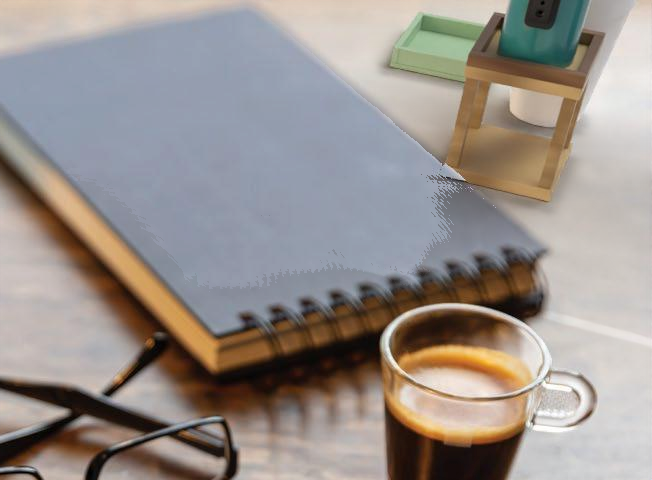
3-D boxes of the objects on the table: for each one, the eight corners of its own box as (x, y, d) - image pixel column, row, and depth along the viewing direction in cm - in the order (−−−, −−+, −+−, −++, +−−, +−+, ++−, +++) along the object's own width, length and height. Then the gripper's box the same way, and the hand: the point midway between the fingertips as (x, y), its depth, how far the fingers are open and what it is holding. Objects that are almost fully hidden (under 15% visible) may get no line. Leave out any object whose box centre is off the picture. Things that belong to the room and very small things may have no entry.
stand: (569, 153, 114) (606, 32, 106) (549, 202, 108) (586, 77, 100) (465, 130, 117) (494, 11, 110) (440, 176, 111) (468, 53, 104)
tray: (507, 48, 129) (512, 29, 128) (485, 86, 123) (490, 66, 122) (415, 30, 133) (419, 11, 131) (389, 66, 126) (393, 47, 125)
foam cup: (470, 107, 120) (504, -33, 112) (529, 78, 125) (566, -59, 116) (561, 146, 115) (604, 2, 106) (619, 114, 119) (665, -27, 110)
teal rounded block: (580, 47, 107) (609, -52, 101) (566, 77, 103) (595, -25, 97) (505, 33, 109) (529, -65, 103) (489, 61, 105) (513, -39, 99)
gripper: (649, -186, 86) (579, 56, 97) (678, -239, 96) (611, -14, 107) (532, -201, 89) (477, 36, 100) (572, -251, 98) (517, -30, 109)
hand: (546, 9), depth 103 cm, fingers closed on teal rounded block, 6 cm apart
